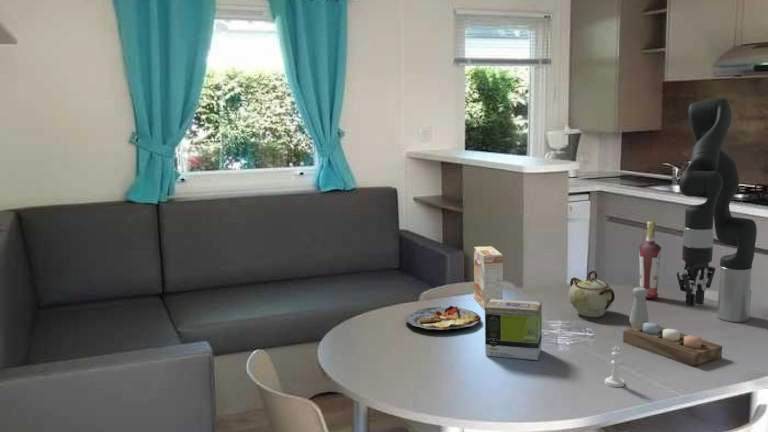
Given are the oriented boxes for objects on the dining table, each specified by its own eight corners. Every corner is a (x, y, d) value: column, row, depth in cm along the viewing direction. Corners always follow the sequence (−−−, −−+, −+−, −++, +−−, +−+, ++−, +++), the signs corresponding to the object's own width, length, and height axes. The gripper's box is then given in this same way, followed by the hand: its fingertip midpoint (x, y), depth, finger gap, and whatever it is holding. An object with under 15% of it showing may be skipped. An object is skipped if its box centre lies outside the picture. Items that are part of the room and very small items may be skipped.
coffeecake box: (473, 298, 258) (473, 246, 255) (492, 297, 259) (492, 245, 256) (483, 310, 244) (483, 255, 241) (503, 309, 244) (503, 254, 241)
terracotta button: (690, 344, 199) (690, 334, 198) (704, 349, 195) (705, 338, 194) (679, 347, 196) (680, 337, 196) (694, 352, 192) (694, 342, 192)
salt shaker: (649, 331, 218) (651, 291, 216) (630, 330, 219) (631, 290, 217) (646, 325, 224) (648, 286, 221) (627, 324, 225) (629, 285, 223)
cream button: (669, 337, 205) (669, 327, 204) (683, 342, 201) (683, 332, 200) (658, 340, 202) (659, 330, 202) (672, 345, 198) (672, 335, 198)
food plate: (462, 309, 246) (462, 300, 245) (493, 329, 224) (493, 318, 223) (395, 318, 238) (395, 308, 237) (420, 339, 216) (420, 328, 216)
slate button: (649, 331, 211) (650, 321, 210) (662, 335, 207) (662, 325, 206) (639, 334, 208) (639, 324, 208) (652, 338, 204) (652, 328, 204)
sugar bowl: (629, 317, 232) (631, 273, 230) (596, 325, 225) (597, 279, 223) (586, 303, 249) (587, 262, 247) (554, 309, 242) (554, 267, 240)
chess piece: (601, 380, 182) (602, 343, 180) (619, 379, 182) (621, 342, 180) (609, 387, 177) (610, 349, 175) (628, 386, 177) (629, 348, 175)
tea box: (541, 349, 205) (542, 300, 202) (537, 361, 195) (538, 310, 193) (490, 344, 209) (490, 296, 207) (484, 356, 200) (484, 306, 198)
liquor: (656, 301, 249) (659, 224, 244) (635, 298, 253) (638, 222, 248) (660, 296, 255) (664, 220, 251) (640, 294, 259) (642, 219, 254)
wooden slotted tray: (650, 334, 215) (650, 323, 215) (721, 358, 195) (722, 346, 194) (623, 341, 209) (623, 330, 209) (693, 367, 189) (694, 354, 188)
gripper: (702, 238, 197) (698, 297, 200) (668, 244, 190) (666, 306, 193) (726, 243, 191) (722, 304, 194) (693, 249, 184) (690, 312, 187)
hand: (694, 304), depth 194 cm, fingers open, 3 cm apart
